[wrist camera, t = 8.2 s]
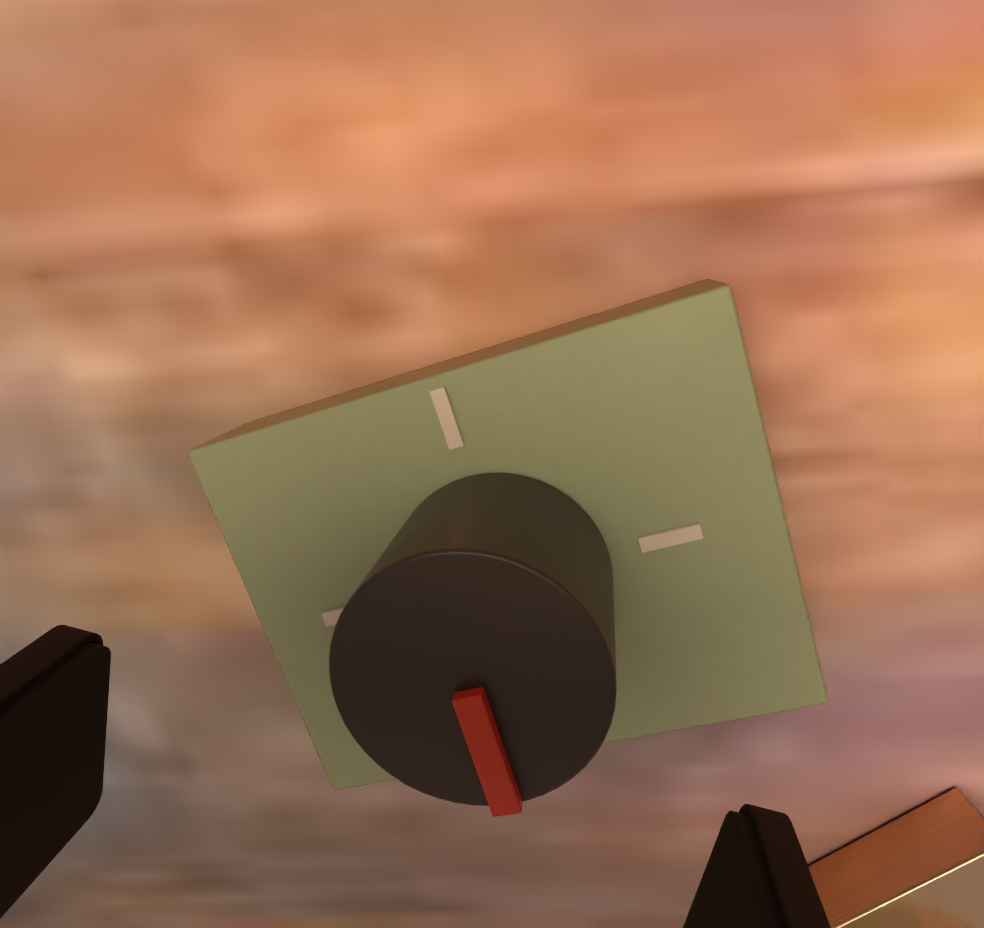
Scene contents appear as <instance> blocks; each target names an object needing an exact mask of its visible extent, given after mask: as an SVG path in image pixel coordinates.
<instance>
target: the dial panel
mask: <svg viewBox="0 0 984 928" xmlns="http://www.w3.org/2000/svg"><path fill="white" fill-rule="evenodd" d="M188 455H189V458H190V460H191V462H192V465H193V467H194V469H195V472H196V474H197V476H198V478H199V481H200V483H201V485H202V488H203V490H204V492H205V495H206V497H207V499H208V502H209V504H210V506H211V508H212V511H213V513H214V515H215V518H216V520H217V522H218V525H219V527H220V529H221V532H222V534H223V536H224V538H225V541H226V543H227V545H228V548H229V550H230V552H231V555H232V557H233V559H234V562H235V564H236V566H237V568H238V571H239V573H240V575H241V578H242V580H243V582H244V585H245V587H246V589H247V592H248V594H249V596H250V598H251V601H252V603H253V605H254V608H255V610H256V612H257V615H258V617H259V619H260V622H261V624H262V626H263V628H264V631H265V633H266V635H267V638H268V640H269V642H270V645H271V647H272V649H273V652H274V654H275V656H276V658H277V661H278V663H279V665H280V668H281V670H282V672H283V675H284V677H285V679H286V682H287V684H288V686H289V688H290V691H291V693H292V695H293V698H294V700H295V702H296V705H297V707H298V709H299V712H300V714H301V716H302V718H303V721H304V723H305V725H306V728H307V730H308V732H309V735H310V737H311V739H312V742H313V744H314V746H315V748H316V751H317V753H318V755H319V758H320V760H321V762H322V765H323V767H324V769H325V772H326V774H327V776H328V778H329V781H330V783H331V785H332V788H333V789H334V790H339V789H345V788H350V787H356V786H362V785H367V784H373V783H379V782H384V781H390V780H396V778H395V777H393V776H391V775H390V774H389V773H388V772H386V771H385V770H384V769H382V768H381V767H380V766H379V765H377V764H376V763H375V762H374V761H373V760H372V759H371V758H370V757H369V756H368V755H367V754H366V753H365V752H364V751H363V749H362V748H361V747H360V746H359V744H358V743H357V742H356V741H355V740H354V738H353V737H352V735H351V733H350V732H349V730H348V729H347V727H346V726H345V724H344V722H343V720H342V717H341V715H340V713H339V711H338V709H337V706H336V703H335V700H334V697H333V693H332V688H331V683H330V675H329V653H330V643H331V640H332V636H333V632H334V628H335V626H336V623H337V621H338V618H339V616H340V614H341V612H342V610H343V609H344V607H345V605H346V604H347V602H348V601H349V599H350V598H351V596H352V595H353V593H354V592H355V591H356V589H357V588H358V587H359V585H360V584H361V582H362V581H363V580H364V578H365V577H366V576H367V574H368V573H369V571H370V570H371V569H372V567H373V566H374V565H375V563H376V562H377V561H378V559H379V558H380V556H381V555H382V554H383V552H384V551H385V550H386V548H387V547H388V545H389V544H390V543H391V541H392V540H393V539H394V537H395V536H396V534H397V533H398V532H399V530H400V529H401V528H402V526H403V525H404V523H405V522H406V521H407V519H408V518H409V517H410V515H411V514H412V513H413V512H414V510H415V509H416V508H417V507H418V506H419V504H420V503H421V502H423V501H424V500H425V499H426V498H427V497H428V496H429V495H430V494H432V493H433V492H435V491H436V490H438V489H439V488H441V487H443V486H445V485H447V484H449V483H451V482H453V481H455V480H458V479H461V478H464V477H468V476H472V475H478V474H484V473H508V474H516V475H521V476H526V477H529V478H533V479H536V480H539V481H542V482H544V483H546V484H548V485H550V486H552V487H554V488H556V489H558V490H559V491H561V492H562V493H564V494H565V495H567V496H568V497H570V498H571V499H572V500H573V501H574V502H576V503H577V504H578V505H579V506H580V507H581V508H582V509H583V510H584V511H585V512H586V513H587V514H588V515H589V516H590V518H591V519H592V521H593V522H594V523H595V525H596V526H597V528H598V529H599V531H600V533H601V535H602V537H603V539H604V541H605V543H606V546H607V549H608V552H609V554H610V559H611V564H612V571H613V591H614V622H615V653H616V683H617V694H616V705H615V711H614V715H613V719H612V723H611V726H610V728H609V731H608V733H607V735H606V738H605V740H604V741H603V743H606V742H611V741H617V740H623V739H628V738H634V737H640V736H645V735H651V734H657V733H662V732H668V731H674V730H679V729H685V728H691V727H696V726H702V725H708V724H713V723H719V722H725V721H730V720H736V719H742V718H747V717H753V716H759V715H764V714H770V713H776V712H781V711H787V710H793V709H798V708H804V707H810V706H815V705H821V704H826V703H828V695H827V691H826V687H825V682H824V678H823V674H822V670H821V665H820V661H819V657H818V653H817V648H816V644H815V640H814V636H813V632H812V627H811V623H810V619H809V615H808V610H807V606H806V602H805V598H804V593H803V589H802V585H801V581H800V576H799V572H798V568H797V564H796V559H795V555H794V551H793V547H792V542H791V538H790V534H789V530H788V525H787V521H786V517H785V513H784V508H783V504H782V500H781V496H780V491H779V487H778V483H777V479H776V474H775V470H774V466H773V462H772V458H771V453H770V449H769V445H768V441H767V436H766V432H765V428H764V424H763V419H762V415H761V411H760V407H759V402H758V398H757V394H756V390H755V385H754V381H753V377H752V373H751V368H750V364H749V360H748V356H747V351H746V347H745V343H744V339H743V334H742V330H741V326H740V322H739V317H738V313H737V309H736V305H735V300H734V296H733V292H732V288H731V286H730V285H729V284H725V283H721V282H717V281H713V280H708V279H707V280H703V281H700V282H697V283H694V284H691V285H687V286H684V287H681V288H678V289H675V290H671V291H668V292H665V293H662V294H659V295H655V296H652V297H649V298H646V299H643V300H639V301H636V302H633V303H630V304H627V305H623V306H620V307H617V308H614V309H611V310H607V311H604V312H601V313H598V314H595V315H591V316H588V317H585V318H582V319H579V320H575V321H572V322H569V323H566V324H563V325H559V326H556V327H553V328H550V329H547V330H543V331H540V332H537V333H534V334H531V335H527V336H524V337H521V338H518V339H515V340H511V341H508V342H505V343H502V344H499V345H495V346H492V347H489V348H486V349H483V350H479V351H476V352H473V353H470V354H466V355H463V356H460V357H457V358H454V359H450V360H447V361H444V362H441V363H438V364H434V365H431V366H428V367H425V368H422V369H418V370H415V371H412V372H409V373H406V374H402V375H399V376H396V377H393V378H390V379H386V380H383V381H380V382H377V383H374V384H370V385H367V386H364V387H361V388H358V389H354V390H351V391H348V392H345V393H342V394H338V395H335V396H332V397H329V398H326V399H322V400H319V401H316V402H313V403H310V404H306V405H303V406H300V407H297V408H294V409H290V410H287V411H284V412H281V413H278V414H274V415H271V416H268V417H265V418H262V419H258V420H255V421H252V422H249V423H246V424H243V425H241V426H239V427H237V428H235V429H233V430H231V431H229V432H227V433H225V434H223V435H220V436H218V437H216V438H214V439H212V440H210V441H208V442H206V443H204V444H202V445H200V446H198V447H196V448H193V449H191V450H190V451H189V452H188Z"/></svg>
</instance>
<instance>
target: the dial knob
mask: <svg viewBox="0 0 984 928" xmlns="http://www.w3.org/2000/svg"><path fill="white" fill-rule="evenodd" d="M329 675H330V683H331V688H332V693H333V697H334V700H335V703H336V706H337V709H338V711H339V713H340V715H341V717H342V720H343V722H344V724H345V726H346V727H347V729H348V730H349V732H350V733H351V735H352V737H353V738H354V740H355V741H356V742H357V743H358V744H359V746H360V747H361V748H362V749H363V751H364V752H365V753H366V754H367V755H368V756H369V757H370V758H371V759H372V760H373V761H374V762H375V763H376V764H377V765H379V766H380V767H381V768H382V769H384V770H385V771H386V772H388V773H389V774H390V775H391V776H393V777H395V778H396V779H398V780H399V781H401V782H403V783H404V784H406V785H408V786H410V787H412V788H414V789H416V790H418V791H420V792H422V793H425V794H428V795H431V796H433V797H436V798H439V799H443V800H447V801H451V802H455V803H461V804H469V805H485V806H489V807H490V810H491V813H492V815H493V817H496V816H503V815H510V814H517V813H521V811H522V804H523V801H527V800H530V799H533V798H536V797H539V796H542V795H544V794H546V793H548V792H550V791H552V790H554V789H556V788H558V787H560V786H561V785H563V784H564V783H566V782H567V781H569V780H570V779H572V778H573V777H574V776H575V775H576V774H578V773H579V772H580V771H581V770H582V769H583V768H584V767H585V766H586V765H587V764H588V763H589V761H590V760H591V759H592V758H593V757H594V755H595V754H596V753H597V751H598V750H599V748H600V746H601V745H602V743H603V741H604V740H605V738H606V735H607V733H608V731H609V728H610V726H611V723H612V719H613V715H614V711H615V705H616V694H617V683H616V653H615V622H614V591H613V571H612V564H611V559H610V554H609V552H608V549H607V546H606V543H605V541H604V539H603V537H602V535H601V533H600V531H599V529H598V528H597V526H596V525H595V523H594V522H593V521H592V519H591V518H590V516H589V515H588V514H587V513H586V512H585V511H584V510H583V509H582V508H581V507H580V506H579V505H578V504H577V503H576V502H574V501H573V500H572V499H571V498H570V497H568V496H567V495H565V494H564V493H562V492H561V491H559V490H558V489H556V488H554V487H552V486H550V485H548V484H546V483H544V482H542V481H539V480H536V479H533V478H529V477H526V476H521V475H516V474H508V473H484V474H478V475H472V476H468V477H464V478H461V479H458V480H455V481H453V482H451V483H449V484H447V485H445V486H443V487H441V488H439V489H438V490H436V491H435V492H433V493H432V494H430V495H429V496H428V497H427V498H426V499H425V500H424V501H423V502H421V503H420V504H419V506H418V507H417V508H416V509H415V510H414V512H413V513H412V514H411V515H410V517H409V518H408V519H407V521H406V522H405V523H404V525H403V526H402V528H401V529H400V530H399V532H398V533H397V534H396V536H395V537H394V539H393V540H392V541H391V543H390V544H389V545H388V547H387V548H386V550H385V551H384V552H383V554H382V555H381V556H380V558H379V559H378V561H377V562H376V563H375V565H374V566H373V567H372V569H371V570H370V571H369V573H368V574H367V576H366V577H365V578H364V580H363V581H362V582H361V584H360V585H359V587H358V588H357V589H356V591H355V592H354V593H353V595H352V596H351V598H350V599H349V601H348V602H347V604H346V605H345V607H344V609H343V610H342V612H341V614H340V616H339V618H338V621H337V623H336V626H335V628H334V632H333V636H332V640H331V643H330V653H329Z"/></svg>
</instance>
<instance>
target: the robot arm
mask: <svg viewBox="0 0 984 928" xmlns="http://www.w3.org/2000/svg"><path fill="white" fill-rule="evenodd" d="M110 661H111V652H110V650H109V648H108V647H106V646H103V640H102V638H101V636H100V635H98V634H96V633H93V632H89V631H85V630H81V629H77V628H73V627H70V626H66V625H58V626H56V627H54V628H52V629H51V630H49V631H48V632H46V633H45V634H44V635H42V636H41V637H39V638H38V639H36V640H35V641H33V642H32V643H31V644H29V645H28V646H26V647H25V648H23V649H22V650H21V651H19V652H18V653H16V654H15V655H13V656H12V657H10V658H9V659H8V660H6V661H5V662H3V663H2V664H0V918H1V917H2V916H3V915H4V914H5V913H6V912H7V911H8V909H9V908H10V907H11V906H12V905H13V904H14V903H15V901H16V900H17V899H18V898H19V897H20V896H21V895H22V894H23V892H24V891H25V890H26V889H27V888H28V887H29V886H30V885H31V883H32V882H33V881H34V880H35V879H36V878H37V877H38V875H39V874H40V873H41V872H42V871H43V870H44V869H45V868H46V866H47V865H48V864H49V863H50V862H51V861H52V860H53V859H54V857H55V856H56V855H57V854H58V853H59V852H60V851H61V849H62V848H63V847H64V846H65V845H66V844H67V843H68V842H69V840H70V839H71V838H72V837H73V836H74V835H75V834H76V833H77V831H78V830H79V829H80V828H81V827H82V826H83V825H84V823H85V822H86V821H87V820H88V819H89V818H90V816H91V815H92V814H93V812H94V811H95V809H96V807H97V805H98V803H99V801H100V798H101V794H102V789H103V773H104V757H105V741H106V725H107V709H108V693H109V677H110ZM683 928H831V927H830V924H829V921H828V919H827V916H826V913H825V911H824V908H823V905H822V903H821V900H820V897H819V894H818V892H817V889H816V886H815V884H814V881H813V878H812V876H811V873H810V870H809V868H808V865H807V862H806V860H805V857H804V854H803V852H802V849H801V846H800V844H799V841H798V838H797V836H796V833H795V830H794V828H793V825H792V822H791V820H790V818H789V817H788V816H787V815H786V814H784V813H780V812H777V811H773V810H769V809H765V808H761V807H757V806H754V805H750V804H744V805H743V806H742V807H741V809H740V811H739V813H738V812H734V811H729V812H728V813H727V815H726V817H725V819H724V821H723V824H722V827H721V829H720V832H719V835H718V837H717V840H716V842H715V845H714V848H713V850H712V853H711V856H710V858H709V861H708V863H707V866H706V869H705V871H704V874H703V877H702V879H701V882H700V884H699V887H698V890H697V892H696V895H695V898H694V900H693V903H692V905H691V908H690V911H689V913H688V916H687V919H686V921H685V924H684V926H683Z"/></svg>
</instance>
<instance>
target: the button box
mask: <svg viewBox="0 0 984 928" xmlns="http://www.w3.org/2000/svg"><path fill="white" fill-rule="evenodd" d="M808 868H809V870H810V873H811V876H812V878H813V881H814V884H815V886H816V889H817V892H818V894H819V897H820V900H821V903H822V905H823V908H824V911H825V913H826V916H827V919H828V921H829V924H830V927H831V928H984V818H983V816H982V815H981V814H980V813H979V812H978V811H977V810H976V809H975V807H974V806H973V805H972V804H971V803H970V802H969V801H968V800H967V798H966V797H965V796H964V795H963V794H962V793H961V792H960V791H959V790H958V789H956V788H953V789H951V790H949V791H948V792H946V793H944V794H942V795H940V796H938V797H936V798H935V799H933V800H931V801H929V802H927V803H925V804H923V805H921V806H920V807H918V808H916V809H914V810H912V811H910V812H908V813H907V814H905V815H903V816H901V817H899V818H897V819H895V820H894V821H892V822H890V823H888V824H886V825H884V826H882V827H881V828H879V829H877V830H875V831H873V832H871V833H869V834H868V835H866V836H864V837H862V838H860V839H858V840H856V841H855V842H853V843H851V844H849V845H847V846H845V847H843V848H841V849H840V850H838V851H836V852H834V853H832V854H830V855H828V856H827V857H825V858H823V859H821V860H819V861H817V862H815V863H814V864H812V865H810V866H808Z"/></svg>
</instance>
